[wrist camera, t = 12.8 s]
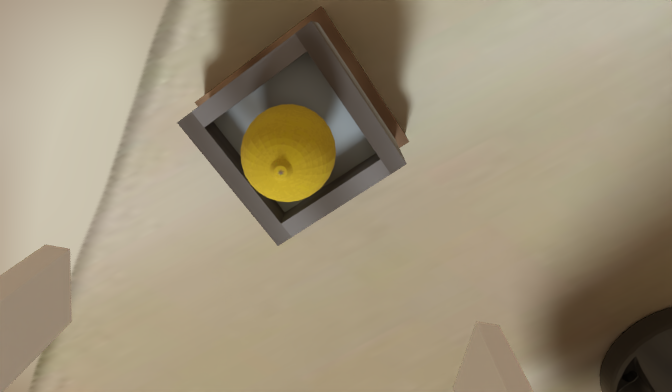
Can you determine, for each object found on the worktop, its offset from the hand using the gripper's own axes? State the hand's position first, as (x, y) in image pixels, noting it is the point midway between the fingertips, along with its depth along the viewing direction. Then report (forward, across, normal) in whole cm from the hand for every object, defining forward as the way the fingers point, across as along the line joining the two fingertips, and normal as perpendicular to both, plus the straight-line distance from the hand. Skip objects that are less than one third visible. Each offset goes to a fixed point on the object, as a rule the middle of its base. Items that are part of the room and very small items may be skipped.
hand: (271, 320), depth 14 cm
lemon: (+18, -2, +2) cm, 18 cm away
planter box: (+25, -2, +2) cm, 25 cm away
